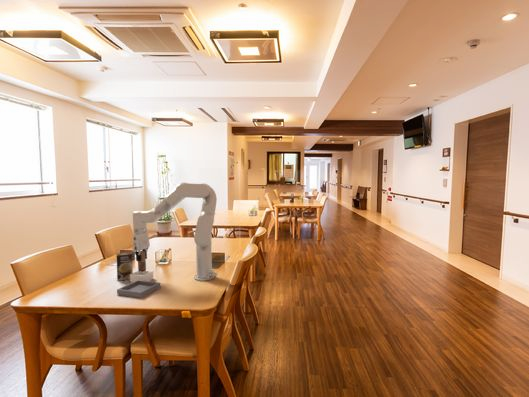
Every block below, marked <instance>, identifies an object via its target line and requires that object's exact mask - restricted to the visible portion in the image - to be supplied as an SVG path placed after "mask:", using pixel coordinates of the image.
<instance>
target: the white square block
mask: <svg viewBox="0 0 529 397" xmlns="http://www.w3.org/2000/svg"><path fill="white" fill-rule="evenodd" d="M137 280H142V281H150V282H151V281H152V280H154V271H153V270H147V269H146V271H142V272H139V271H138V270H136V271H135V272H133V273H132V274H130V279H129V283H132V282H134V281H137Z"/></svg>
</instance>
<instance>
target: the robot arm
mask: <svg viewBox="0 0 529 397" xmlns="http://www.w3.org/2000/svg"><path fill="white" fill-rule="evenodd" d="M186 198H191V199H193V198H195V199H202V204H201V211H200V215H199V216H198V218H197V222H196V227H195V231H194V238H193V239H194V242H195V243H194V244H196V245H195V247H196V248H195V250H196V251H195V252H196V253H195V254H196V255H195V256H196V258H195V260H196V262H195V263H196V274H195V275H194V280H196V281H198V282H199V281H201V282H202V281H203V282H205V281H211V280H213V279H214V278H216V277H217V276H218V272H214V270H213V263H212V262H213V261H212V258H213V257H212V256H213V255H212V232H213V227H214V222H215V214H216V206H217V194H216V191H215V190H214V189H213V188H212V186H210V185H209V184H208V183H188V182H180V183H178V184H177V185H176V186H175V188H173V189H172V190H171V191H170V192H169V193H167V194H166V195H165V196H164V197H163V198H162V200H161V201H160V203H158V204H157V205H156V206H155V207H154V208H151V210H146V211H144V210H135V211H133V212H132V225H133V231H132V232H133V236H132V249H131V252H132V253H134V255H135V261H136V262H138V261H141V255H140V251H145V258H146V260H147V259H148V254H147V253H148V250H149V248H150V236H149V233H148V231H147V230H148V228H147V223H148V224H153V223H155V222H157V221H159V220H160V219H161V218H162V217H164V216H165V215H166V214H167V213H168V212H170V211H171V210H172V209H174V208H175V207H176V206H177V205H178V204H180V203H181V202H182V201H183V200H184V199H186Z"/></svg>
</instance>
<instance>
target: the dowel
mask: <svg viewBox="0 0 529 397" xmlns="http://www.w3.org/2000/svg"><path fill="white" fill-rule="evenodd" d="M140 255H141V261H137V271H139V272H142V271H146V270H147V261H146V260H147V259H146V258H145V251H142V250H140Z"/></svg>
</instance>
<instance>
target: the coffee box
mask: <svg viewBox="0 0 529 397" xmlns="http://www.w3.org/2000/svg"><path fill="white" fill-rule="evenodd" d="M115 256H116V280H117V282H121V281H126V280H127V281H128V280H130V274H132V273H134V272H133V271H134V270H133V269H134V268H133V252H132V251H131V252H120V253H116V254H115Z"/></svg>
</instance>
